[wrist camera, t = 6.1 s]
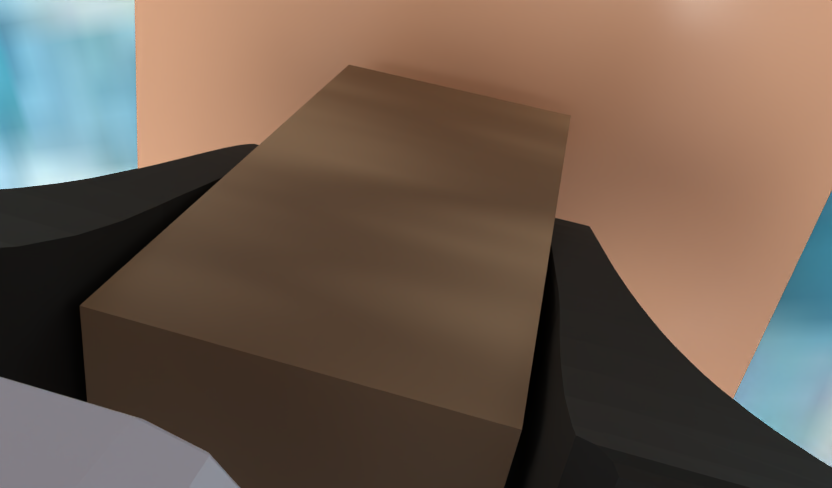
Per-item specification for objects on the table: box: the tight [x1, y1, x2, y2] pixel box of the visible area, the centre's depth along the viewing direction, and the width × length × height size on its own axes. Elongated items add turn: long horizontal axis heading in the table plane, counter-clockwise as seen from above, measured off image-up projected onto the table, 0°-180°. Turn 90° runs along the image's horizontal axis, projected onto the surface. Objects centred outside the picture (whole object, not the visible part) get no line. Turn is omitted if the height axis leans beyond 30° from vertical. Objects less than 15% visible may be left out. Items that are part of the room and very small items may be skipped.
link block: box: [80, 65, 571, 488], centre depth 11 cm, size 4×4×8 cm
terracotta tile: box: [135, 0, 832, 398], centre depth 16 cm, size 14×14×1 cm
